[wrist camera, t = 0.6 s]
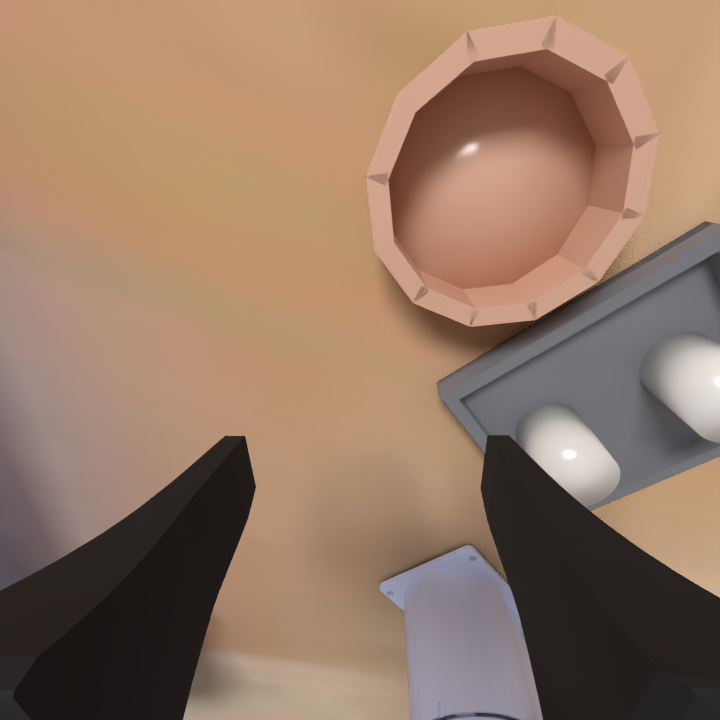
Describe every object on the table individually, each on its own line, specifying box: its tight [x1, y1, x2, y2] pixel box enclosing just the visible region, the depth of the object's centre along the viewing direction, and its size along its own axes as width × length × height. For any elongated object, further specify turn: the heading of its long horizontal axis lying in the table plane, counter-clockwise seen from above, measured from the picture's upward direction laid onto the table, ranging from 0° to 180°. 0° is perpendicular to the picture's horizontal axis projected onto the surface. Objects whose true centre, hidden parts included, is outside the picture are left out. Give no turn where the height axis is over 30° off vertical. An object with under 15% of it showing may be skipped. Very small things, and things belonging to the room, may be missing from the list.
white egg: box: [639, 332, 720, 443], centre depth 18 cm, size 4×4×4 cm
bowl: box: [366, 15, 660, 327], centre depth 16 cm, size 10×10×3 cm
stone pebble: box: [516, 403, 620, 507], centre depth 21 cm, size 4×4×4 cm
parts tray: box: [437, 222, 720, 511], centre depth 21 cm, size 12×14×2 cm
